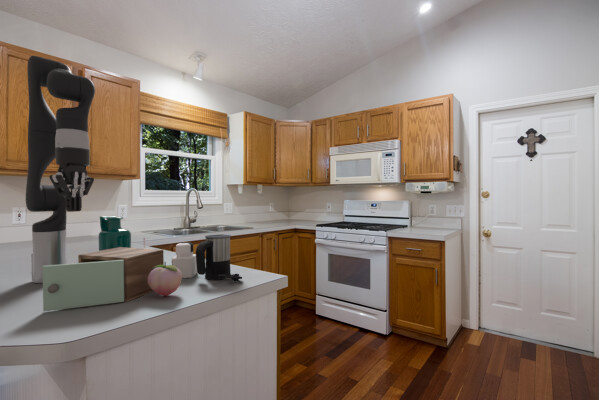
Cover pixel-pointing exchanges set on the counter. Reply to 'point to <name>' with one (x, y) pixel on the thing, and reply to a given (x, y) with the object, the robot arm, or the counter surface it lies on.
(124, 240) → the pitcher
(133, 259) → the cabinet
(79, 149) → the robot arm
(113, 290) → the cabinet door
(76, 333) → the counter surface
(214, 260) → the milk frother
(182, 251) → the medicine bottle
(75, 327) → the counter surface
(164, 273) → the decorative fruit
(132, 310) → the counter surface
